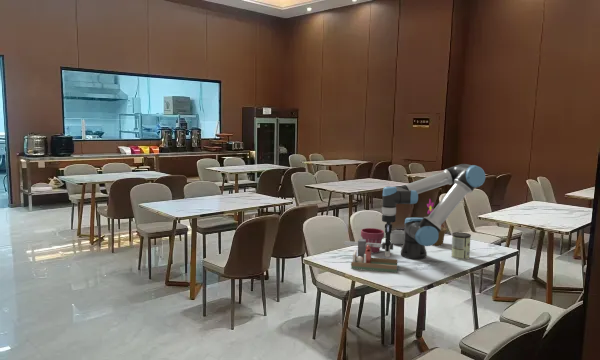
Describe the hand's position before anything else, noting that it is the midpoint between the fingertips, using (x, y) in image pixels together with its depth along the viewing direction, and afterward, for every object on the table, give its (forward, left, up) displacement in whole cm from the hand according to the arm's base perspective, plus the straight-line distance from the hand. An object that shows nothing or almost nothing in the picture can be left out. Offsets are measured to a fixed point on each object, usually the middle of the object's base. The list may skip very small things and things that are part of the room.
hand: (387, 255), depth 251 cm
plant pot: (+10, -24, -5) cm, 27 cm away
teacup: (-5, -48, -5) cm, 48 cm away
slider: (+11, +5, -3) cm, 12 cm away
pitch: (+6, +6, -5) cm, 10 cm away
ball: (+15, +9, -1) cm, 17 cm away
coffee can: (-42, -24, -5) cm, 48 cm away
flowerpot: (-29, -53, -5) cm, 60 cm away
